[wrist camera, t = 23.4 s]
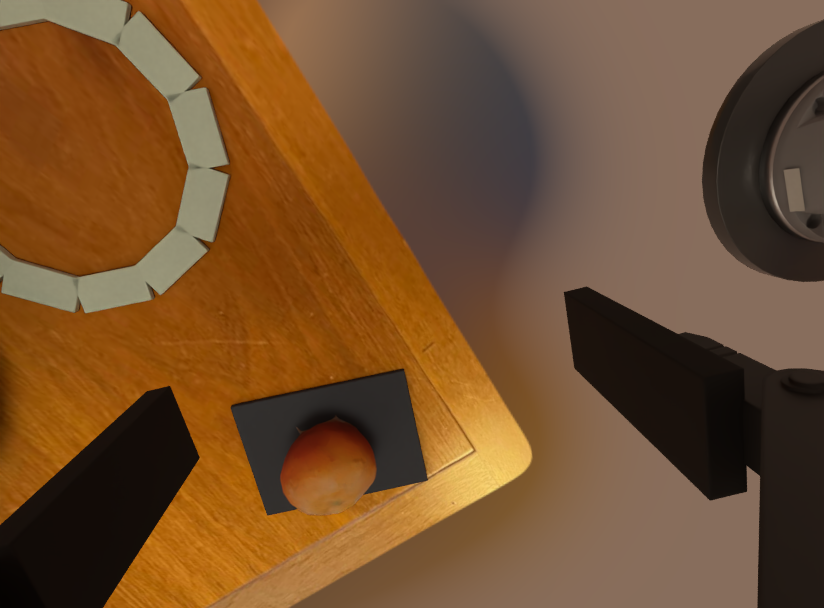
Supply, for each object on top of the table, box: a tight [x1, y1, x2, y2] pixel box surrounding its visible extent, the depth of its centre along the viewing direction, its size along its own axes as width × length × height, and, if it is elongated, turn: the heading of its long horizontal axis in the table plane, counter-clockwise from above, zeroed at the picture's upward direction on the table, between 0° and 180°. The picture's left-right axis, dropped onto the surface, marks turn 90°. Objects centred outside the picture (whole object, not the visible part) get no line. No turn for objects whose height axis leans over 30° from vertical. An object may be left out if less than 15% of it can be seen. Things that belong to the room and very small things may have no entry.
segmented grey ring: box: [0, 0, 230, 313], centre depth 35 cm, size 24×24×1 cm
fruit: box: [280, 416, 377, 515], centre depth 40 cm, size 8×8×8 cm
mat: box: [231, 369, 428, 515], centre depth 43 cm, size 16×12×1 cm
